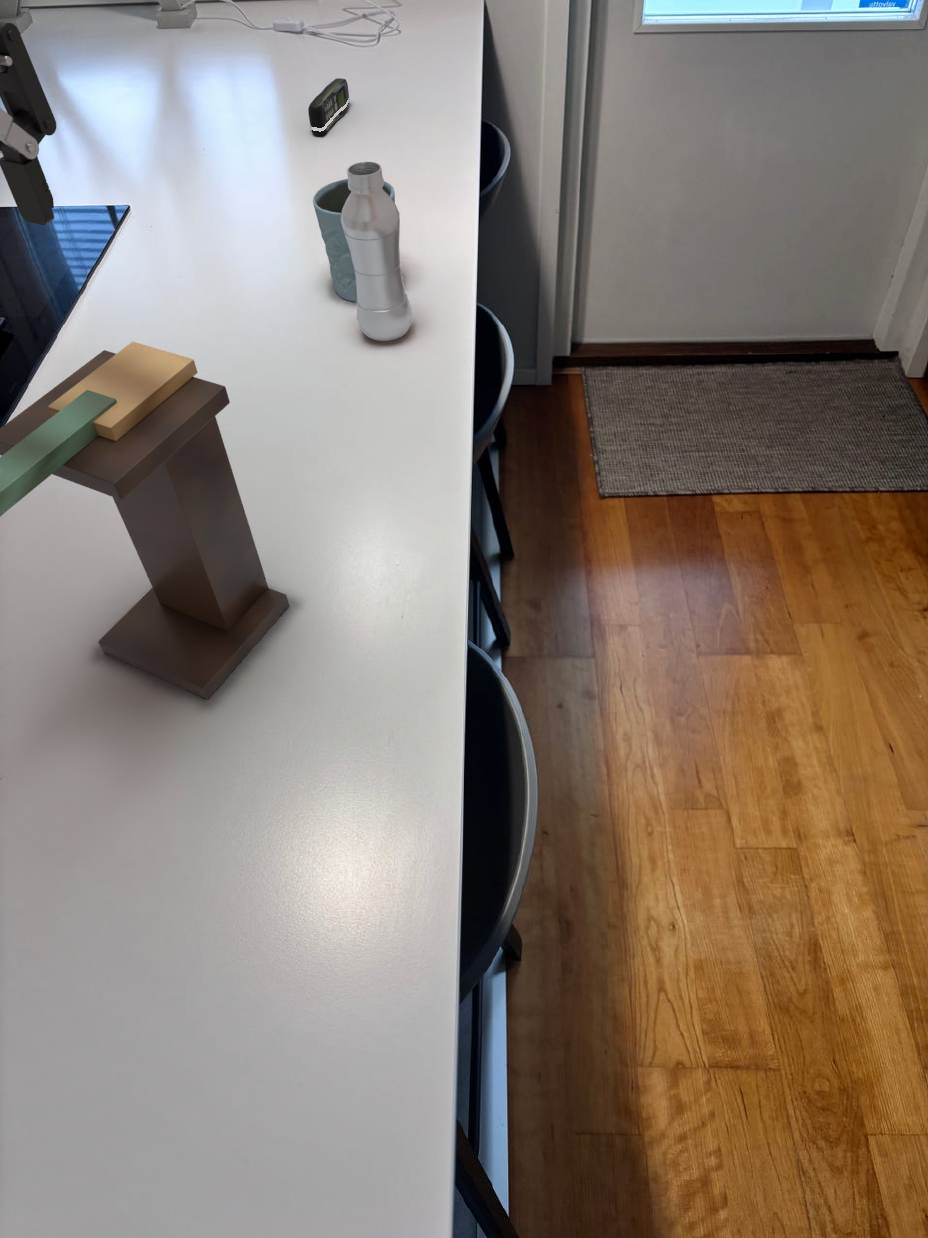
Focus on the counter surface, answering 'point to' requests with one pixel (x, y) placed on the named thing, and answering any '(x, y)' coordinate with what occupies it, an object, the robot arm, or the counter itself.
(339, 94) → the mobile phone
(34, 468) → the spatula
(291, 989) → the counter surface
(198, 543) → the brown pedestal stand
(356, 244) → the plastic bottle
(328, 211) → the blue-grey embossed cup
